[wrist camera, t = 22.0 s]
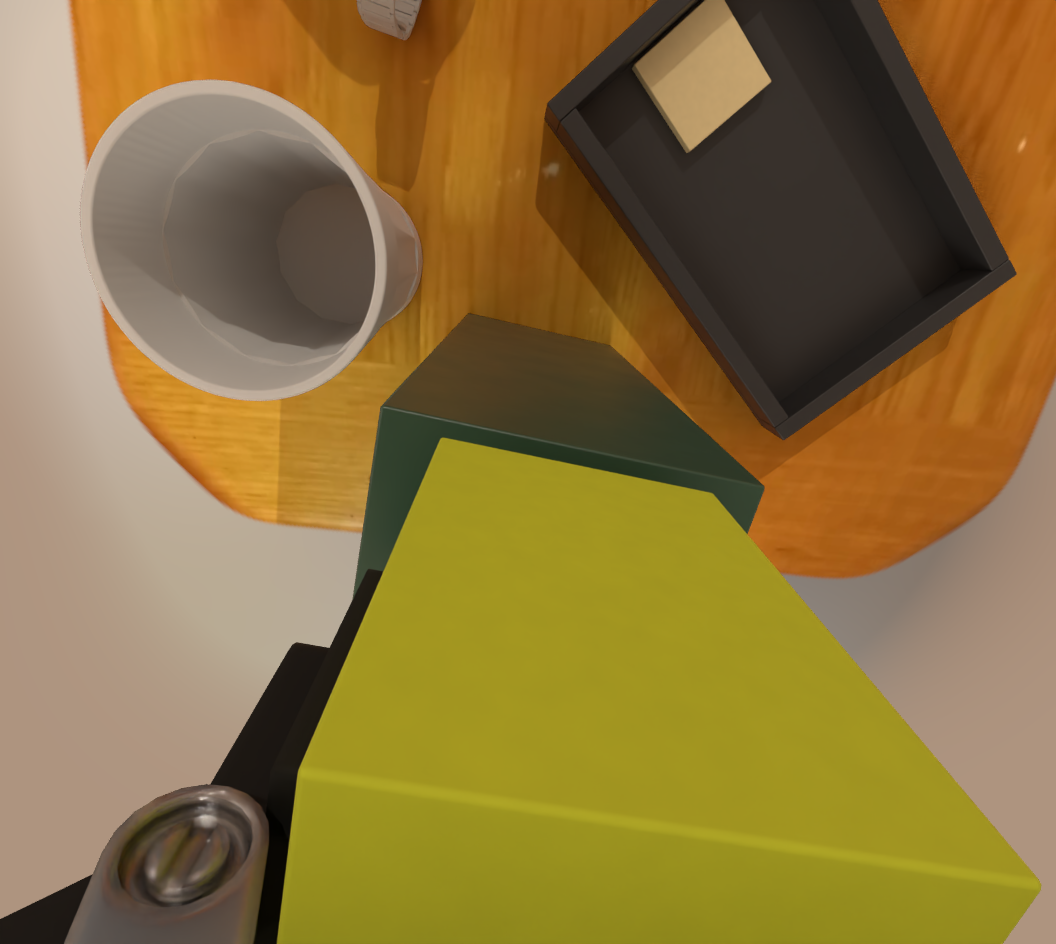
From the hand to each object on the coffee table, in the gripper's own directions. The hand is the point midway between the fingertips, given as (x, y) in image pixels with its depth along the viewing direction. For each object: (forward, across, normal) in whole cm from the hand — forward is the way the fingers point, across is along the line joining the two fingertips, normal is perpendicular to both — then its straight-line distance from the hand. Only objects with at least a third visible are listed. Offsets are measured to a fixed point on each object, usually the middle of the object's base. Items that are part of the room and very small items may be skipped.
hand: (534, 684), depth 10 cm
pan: (+21, -9, -11) cm, 25 cm away
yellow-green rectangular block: (+1, 0, 0) cm, 1 cm away
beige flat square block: (+20, -4, -15) cm, 26 cm away
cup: (+21, +9, -5) cm, 24 cm away
